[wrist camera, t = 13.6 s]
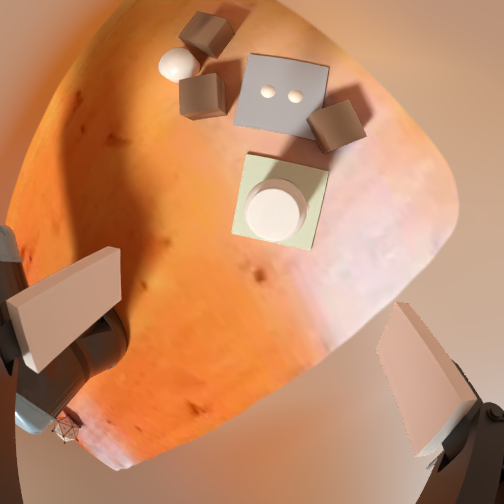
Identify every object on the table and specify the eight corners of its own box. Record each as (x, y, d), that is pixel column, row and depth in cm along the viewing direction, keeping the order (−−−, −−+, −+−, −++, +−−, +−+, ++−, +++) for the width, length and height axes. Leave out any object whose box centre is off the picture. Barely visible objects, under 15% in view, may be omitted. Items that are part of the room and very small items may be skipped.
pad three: (232, 232, 31) (231, 233, 31) (246, 154, 29) (246, 153, 28) (310, 250, 31) (310, 251, 30) (328, 171, 28) (328, 171, 28)
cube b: (217, 59, 26) (190, 49, 26) (234, 34, 25) (207, 25, 24) (207, 45, 22) (178, 36, 22) (227, 19, 21) (197, 11, 21)
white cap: (166, 84, 27) (155, 78, 24) (173, 56, 26) (163, 48, 23) (196, 85, 27) (187, 77, 24) (203, 56, 26) (195, 47, 23)
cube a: (193, 120, 28) (179, 114, 25) (191, 89, 27) (178, 79, 23) (226, 115, 28) (217, 107, 24) (224, 83, 27) (216, 72, 23)
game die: (79, 410, 56) (73, 426, 46) (86, 433, 55) (81, 451, 46) (52, 407, 52) (44, 422, 43) (60, 431, 51) (53, 447, 42)
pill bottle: (309, 220, 29) (317, 241, 20) (262, 232, 30) (249, 258, 21) (295, 171, 28) (298, 170, 19) (247, 185, 29) (228, 190, 20)
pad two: (234, 125, 28) (233, 124, 27) (249, 55, 25) (248, 54, 25) (315, 140, 27) (316, 140, 27) (328, 68, 24) (328, 67, 24)
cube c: (322, 152, 27) (331, 150, 23) (305, 119, 26) (312, 112, 22) (353, 139, 27) (366, 136, 23) (338, 107, 26) (348, 99, 22)
